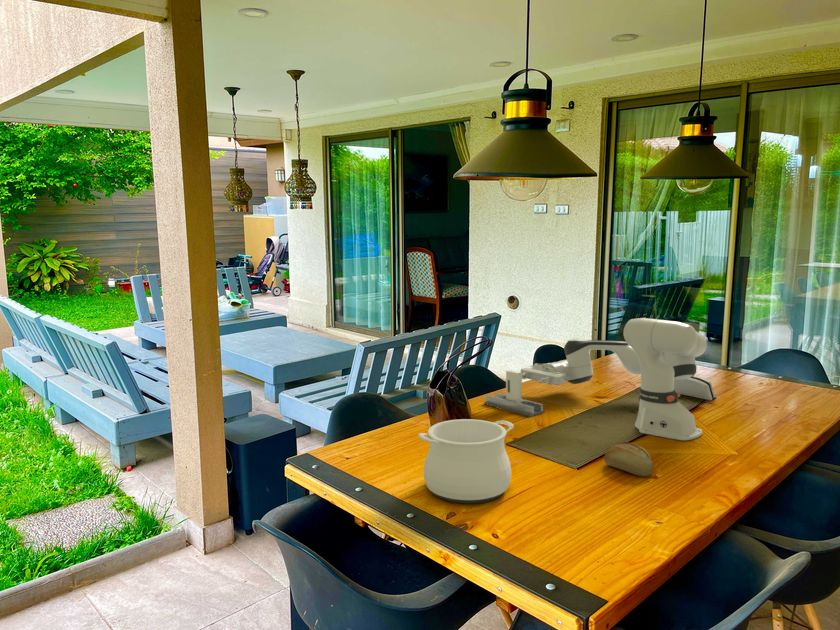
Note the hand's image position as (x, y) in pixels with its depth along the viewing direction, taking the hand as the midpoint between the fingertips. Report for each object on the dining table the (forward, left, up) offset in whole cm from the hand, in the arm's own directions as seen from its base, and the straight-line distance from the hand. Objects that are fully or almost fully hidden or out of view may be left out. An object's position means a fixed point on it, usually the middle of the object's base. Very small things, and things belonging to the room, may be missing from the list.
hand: (530, 379), depth 263 cm
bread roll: (-66, +35, -10) cm, 76 cm away
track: (0, +11, -10) cm, 15 cm away
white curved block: (-40, -57, -10) cm, 71 cm away
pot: (-43, +80, -10) cm, 91 cm away
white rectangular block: (0, +11, -9) cm, 14 cm away
